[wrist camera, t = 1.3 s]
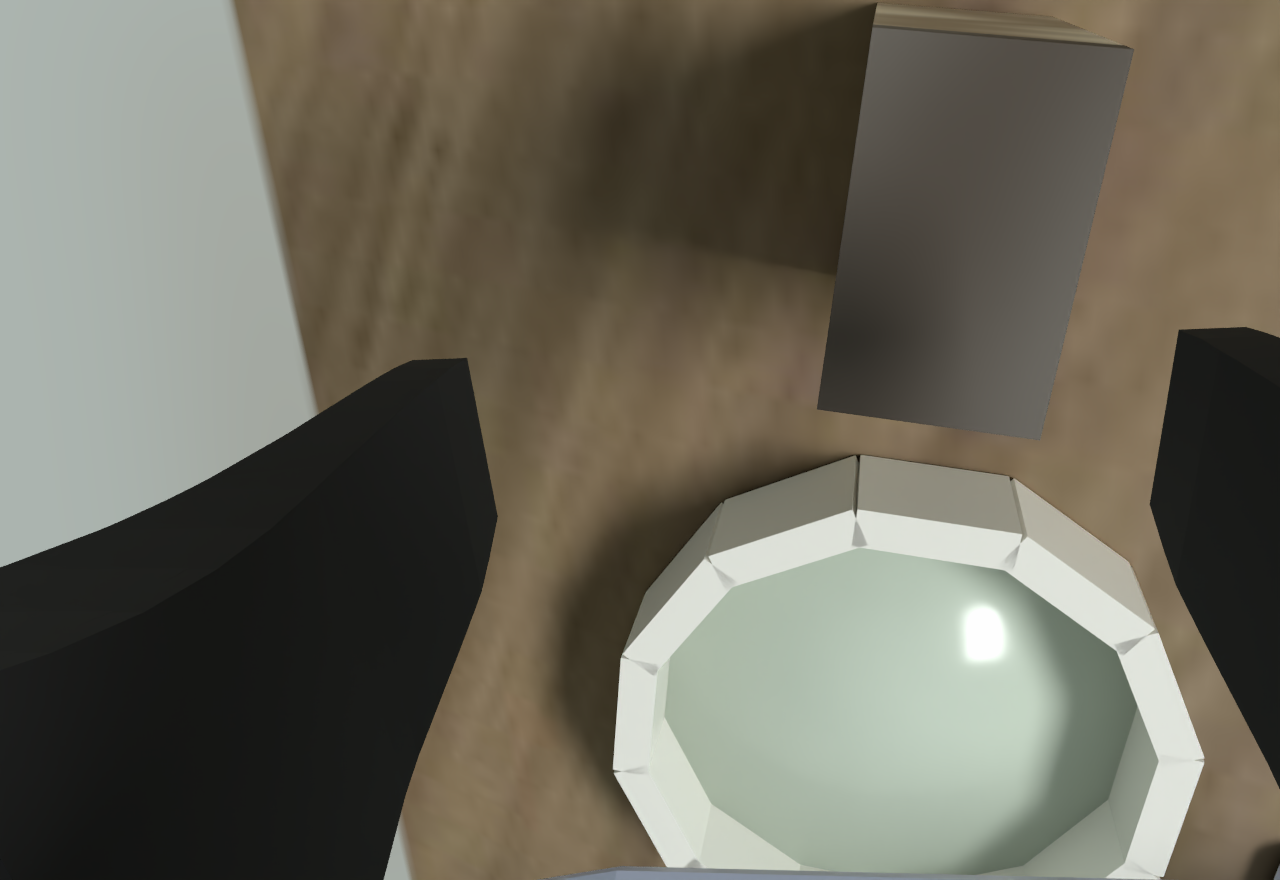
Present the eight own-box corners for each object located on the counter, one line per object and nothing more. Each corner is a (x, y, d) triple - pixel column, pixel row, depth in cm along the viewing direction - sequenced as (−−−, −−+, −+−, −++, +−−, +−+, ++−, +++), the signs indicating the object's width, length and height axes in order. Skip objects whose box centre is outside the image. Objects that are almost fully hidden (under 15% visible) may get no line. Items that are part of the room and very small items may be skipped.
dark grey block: (1052, 16, 19) (1134, 49, 13) (994, 294, 21) (1039, 440, 15) (877, 2, 20) (872, 27, 13) (837, 276, 22) (816, 409, 15)
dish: (1233, 508, 22) (1272, 572, 20) (1092, 930, 27) (1111, 1020, 24) (657, 425, 24) (634, 475, 21) (625, 835, 28) (602, 911, 26)
